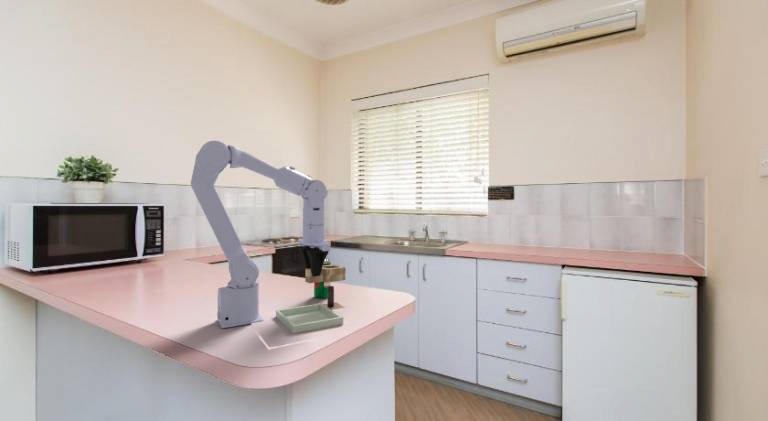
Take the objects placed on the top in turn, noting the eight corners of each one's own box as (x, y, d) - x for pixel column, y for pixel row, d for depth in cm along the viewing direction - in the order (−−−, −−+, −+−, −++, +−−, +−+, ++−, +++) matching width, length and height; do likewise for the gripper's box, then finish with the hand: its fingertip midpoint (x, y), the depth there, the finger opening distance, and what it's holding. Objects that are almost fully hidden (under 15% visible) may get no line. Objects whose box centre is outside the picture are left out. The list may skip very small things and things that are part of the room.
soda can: (327, 300, 108) (327, 260, 108) (311, 299, 109) (311, 260, 109) (332, 296, 113) (332, 258, 113) (317, 295, 114) (317, 257, 114)
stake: (324, 312, 96) (324, 290, 96) (316, 306, 101) (316, 285, 101) (345, 308, 100) (345, 287, 99) (336, 303, 105) (336, 283, 105)
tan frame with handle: (312, 284, 93) (312, 271, 93) (302, 280, 98) (302, 267, 98) (345, 279, 99) (345, 267, 99) (334, 276, 104) (334, 264, 104)
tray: (293, 335, 79) (293, 326, 79) (275, 318, 91) (275, 310, 91) (343, 325, 86) (343, 317, 86) (321, 310, 98) (321, 303, 98)
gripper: (340, 225, 93) (340, 277, 93) (314, 223, 105) (314, 269, 105) (316, 226, 89) (316, 281, 89) (291, 223, 100) (291, 272, 100)
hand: (313, 275), depth 97 cm, fingers closed on tan frame with handle, 2 cm apart
